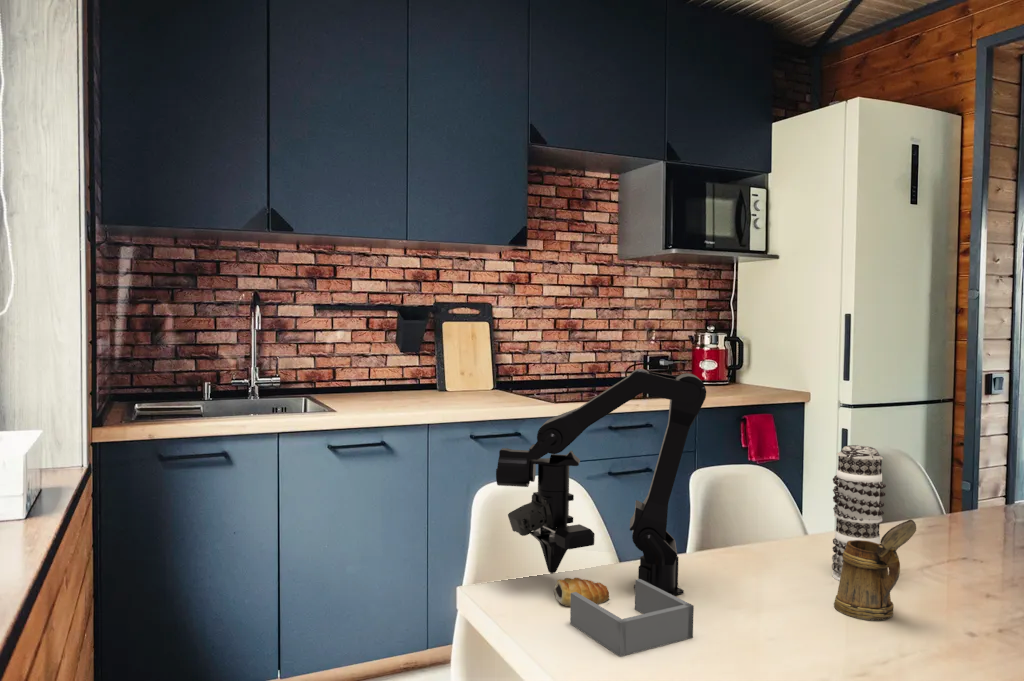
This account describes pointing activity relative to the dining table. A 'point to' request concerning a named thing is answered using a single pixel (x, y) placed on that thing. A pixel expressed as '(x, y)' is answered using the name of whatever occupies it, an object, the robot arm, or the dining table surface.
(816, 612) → the dining table surface
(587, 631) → the box
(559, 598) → the pastry
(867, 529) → the decorative candle
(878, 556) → the wooden mug
